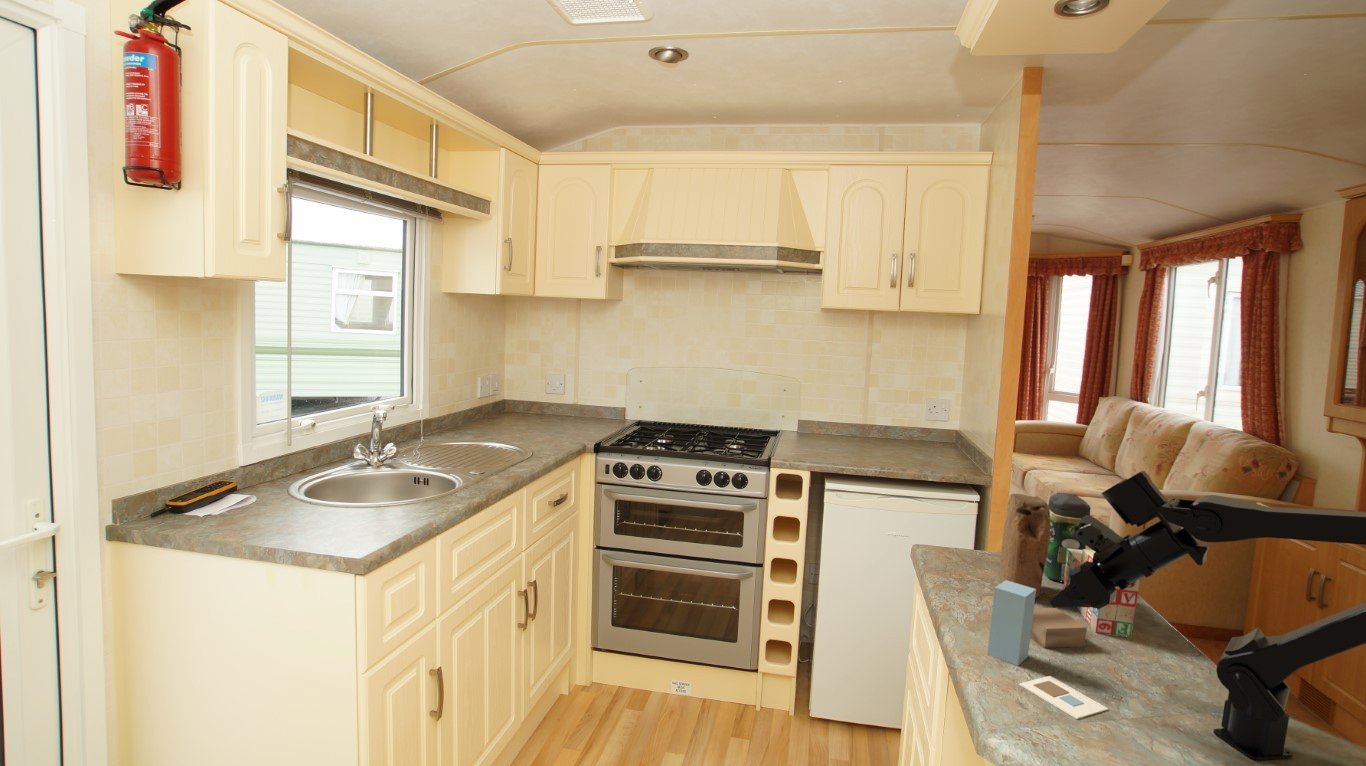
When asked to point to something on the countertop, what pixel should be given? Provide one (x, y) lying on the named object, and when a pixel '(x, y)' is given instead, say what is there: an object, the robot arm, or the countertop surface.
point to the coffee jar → (1063, 531)
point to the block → (1025, 541)
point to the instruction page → (1063, 697)
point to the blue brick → (1011, 622)
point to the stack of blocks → (1113, 615)
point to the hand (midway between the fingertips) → (1060, 596)
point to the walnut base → (1056, 629)
